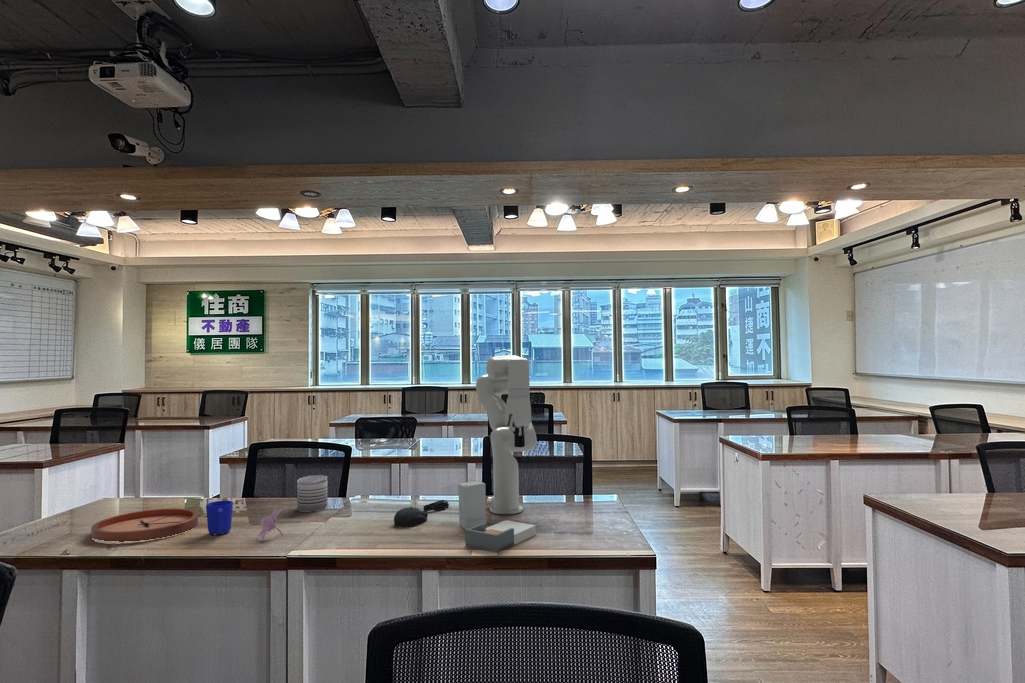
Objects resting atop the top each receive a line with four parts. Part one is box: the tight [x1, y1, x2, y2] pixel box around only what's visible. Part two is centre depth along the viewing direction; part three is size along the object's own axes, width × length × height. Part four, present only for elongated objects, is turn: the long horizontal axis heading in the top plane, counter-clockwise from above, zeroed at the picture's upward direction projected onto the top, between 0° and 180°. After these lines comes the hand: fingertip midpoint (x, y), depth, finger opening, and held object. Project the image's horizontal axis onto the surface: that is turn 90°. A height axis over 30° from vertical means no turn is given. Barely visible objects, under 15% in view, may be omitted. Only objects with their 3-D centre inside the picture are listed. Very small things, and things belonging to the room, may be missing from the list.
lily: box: [257, 507, 284, 542], centre depth 195 cm, size 12×12×10 cm
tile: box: [484, 529, 503, 534], centre depth 185 cm, size 6×6×2 cm
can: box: [296, 474, 328, 513], centre depth 233 cm, size 11×11×12 cm
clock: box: [90, 507, 199, 542], centre depth 206 cm, size 31×4×31 cm
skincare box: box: [457, 480, 487, 530], centre depth 205 cm, size 8×6×15 cm
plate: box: [486, 519, 537, 546], centre depth 192 cm, size 12×12×3 cm
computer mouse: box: [393, 499, 450, 528], centre depth 219 cm, size 10×32×6 cm, turn 159°
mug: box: [205, 500, 234, 535], centre depth 199 cm, size 8×12×10 cm
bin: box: [464, 522, 514, 554], centre depth 183 cm, size 12×9×5 cm
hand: (519, 446), depth 205 cm, fingers closed
